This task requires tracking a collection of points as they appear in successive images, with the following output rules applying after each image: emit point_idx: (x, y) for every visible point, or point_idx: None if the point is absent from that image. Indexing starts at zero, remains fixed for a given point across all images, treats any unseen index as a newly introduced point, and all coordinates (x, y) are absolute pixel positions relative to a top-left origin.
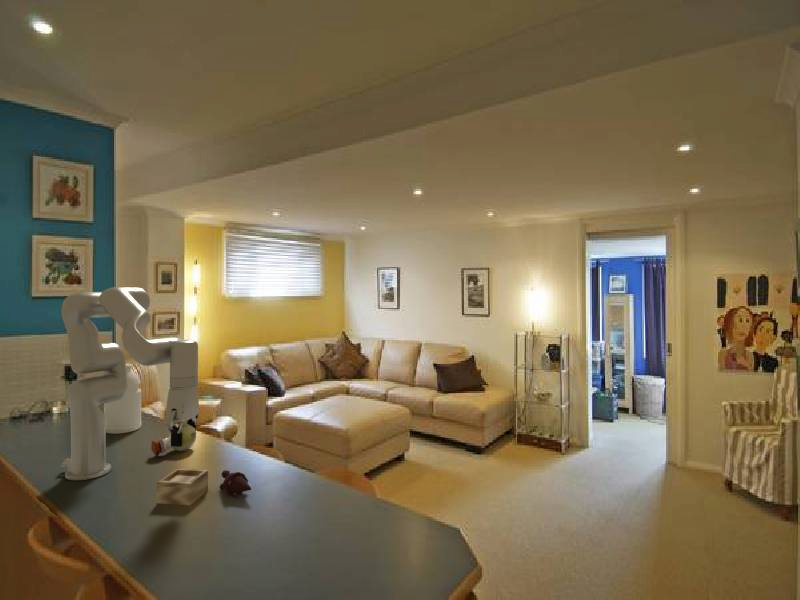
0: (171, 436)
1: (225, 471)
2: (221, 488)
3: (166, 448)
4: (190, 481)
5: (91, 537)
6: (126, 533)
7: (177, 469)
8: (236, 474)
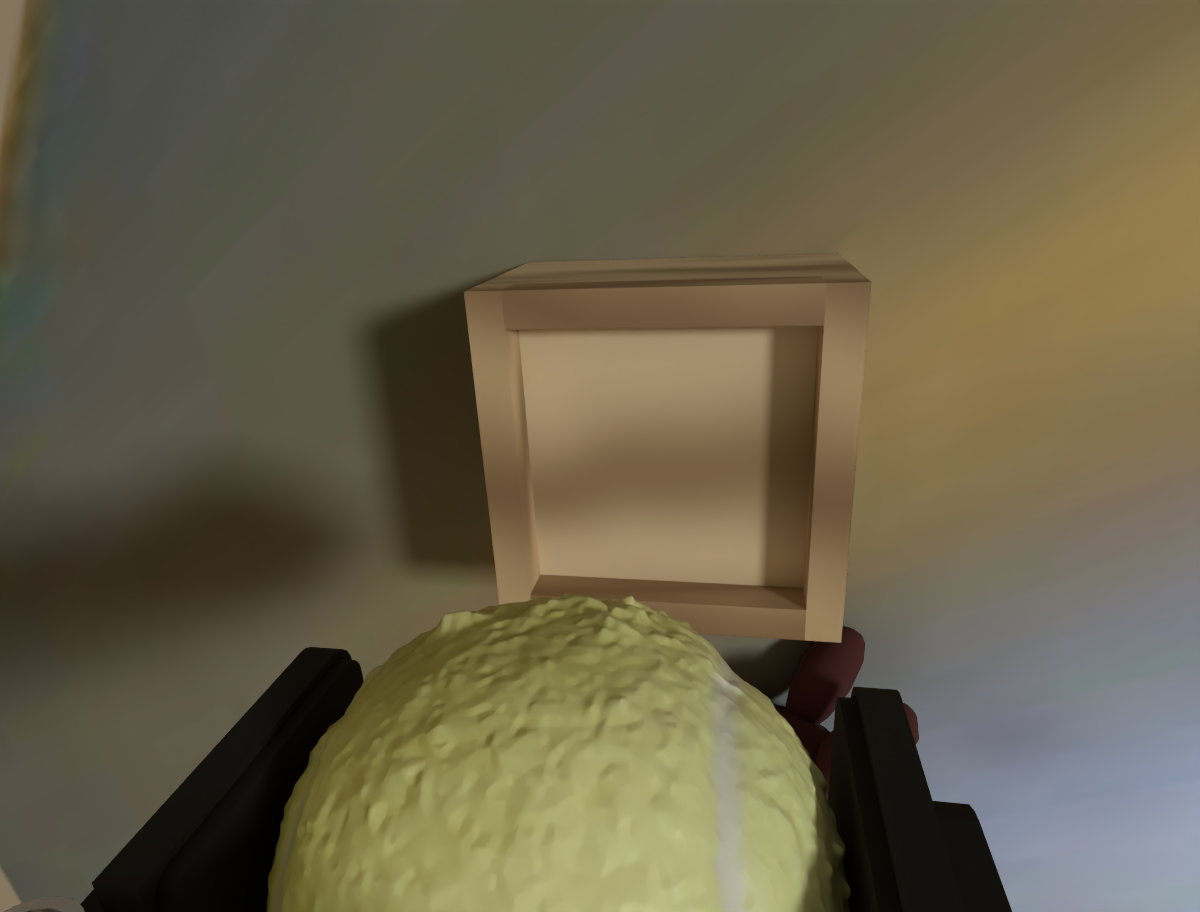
0: (180, 805)
1: None
2: (803, 658)
3: None
4: None
5: (12, 137)
6: (134, 335)
7: (832, 308)
8: None
